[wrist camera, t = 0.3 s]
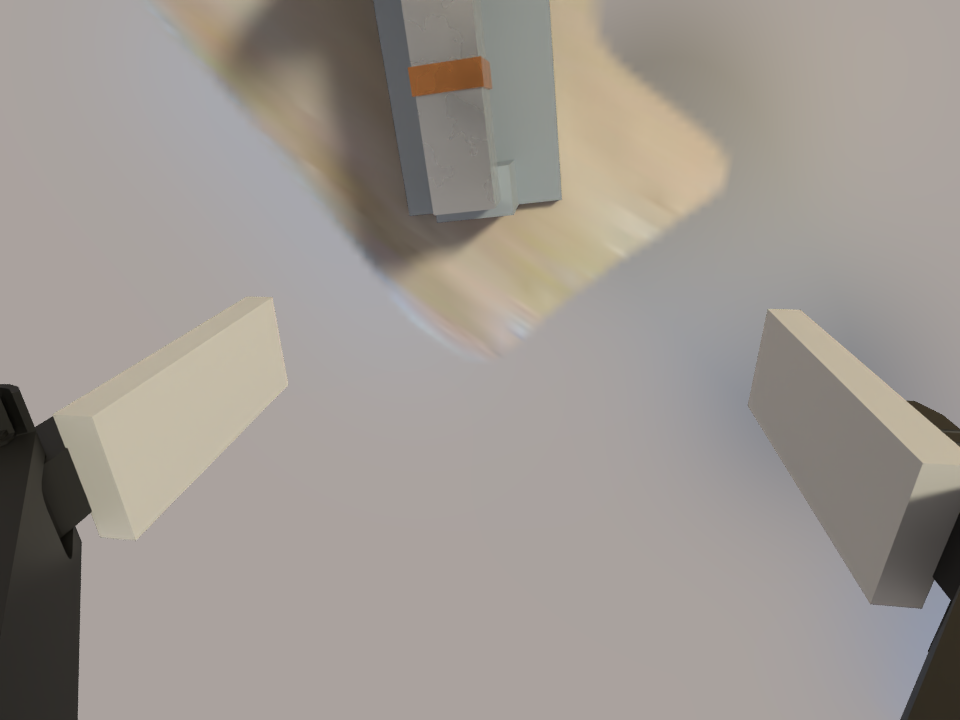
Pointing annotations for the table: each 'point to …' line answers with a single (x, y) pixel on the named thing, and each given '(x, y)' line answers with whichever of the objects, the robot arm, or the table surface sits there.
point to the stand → (514, 100)
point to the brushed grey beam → (453, 103)
